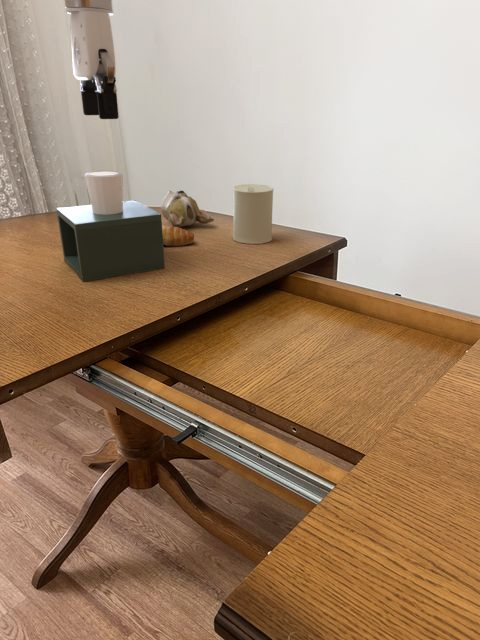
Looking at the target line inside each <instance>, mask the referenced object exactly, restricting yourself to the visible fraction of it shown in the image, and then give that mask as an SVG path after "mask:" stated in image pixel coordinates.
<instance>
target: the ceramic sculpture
mask: <svg viewBox="0 0 480 640" xmlns="http://www.w3.org/2000/svg"><path fill="white" fill-rule="evenodd" d="M160 210H161V215H162V216H163V217H164V219H166V220H167V221H168V222H169V223H170V224H171V226H174V227H178V228H182V227H189V226H192V225H194V224H195V223H196V222H198V223H199V224H203V225H204V224H205V225H206V224H209V223H212V222H214V221H215V219H214V218H213V217H211V216H210V214H209V213H208V212H207V211H205V210H204V209H200V208H199V205H198V203H197V201H196V200H195V199H194V198H193V197H191V196H188V193H186V192H185V190H178V191H176V192H173V191H172V190H168V191H167V193H166V195H165V196H164V197H163V200H162V203H161V206H160Z"/></svg>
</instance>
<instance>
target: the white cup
mask: <svg viewBox="0 0 480 640" xmlns="http://www.w3.org/2000/svg"><path fill="white" fill-rule="evenodd" d="M123 175H124V174H123V172H121V171H117V170H116V171H115V170H96V171H95V170H94V171H87V172H86V173H84V178H85V183H86V188H87V192H88V197H89V201H90V205H91V206H92V211H93V213H95V214H101V215H109V214H117V213H121V212H122V211H123V202H124V191H123V190H124V189H123V188H124V187H123V186H124V185H123V181H124V180H123V177H124V176H123Z"/></svg>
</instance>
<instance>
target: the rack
mask: <svg viewBox="0 0 480 640" xmlns="http://www.w3.org/2000/svg"><path fill="white" fill-rule="evenodd" d="M56 216H57V223H58V229H59V236H60V241H61V242H60V243H61V248H62V249H61V250H62V256H63V261H64V263H66V264H67V266H68V267H69V268H70V269H71V270H72V271H73V272H74V273H75V274H76V275H77V276H78V278H79V279H80V280H81V281H82V282H91V281H96V280H101V279H102V280H103V279H108V278H114V277H121V276H127V275H132V274H139V273H144V272H150V271H151V272H152V271H156V270H162V269H165V268H166V263H165V250H164V249H165V248H164V244H163V234H162V226H163V222H162V213H159V212H157V211H156V210H154V209H152V208H151V207H148V206H147V205H145V204H143V203H141V202H139V201H138V200H136V199H135V200H125V201H124V200H123V211H122V212H121V213H117V214H109V215H101V214H95V213H93V211H92V206H91V204H86V205H76V206H65V207H56Z"/></svg>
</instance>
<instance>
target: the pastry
mask: <svg viewBox="0 0 480 640" xmlns="http://www.w3.org/2000/svg"><path fill="white" fill-rule="evenodd" d="M162 234H163V246H168V247H171V246H174V247H177V246H178V247H180V246H182V247H183V246H185V245H189V244H190V245H191V244H193V243H194V241H195V233H193V232H191V231H190V230H186V229H184V228H182V227H179V228H178V227H174V226H172V225H162Z"/></svg>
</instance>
